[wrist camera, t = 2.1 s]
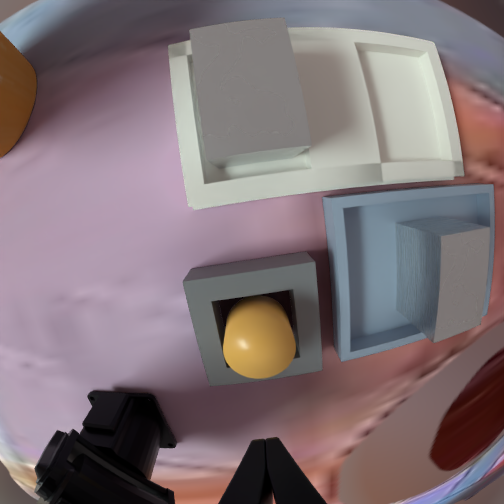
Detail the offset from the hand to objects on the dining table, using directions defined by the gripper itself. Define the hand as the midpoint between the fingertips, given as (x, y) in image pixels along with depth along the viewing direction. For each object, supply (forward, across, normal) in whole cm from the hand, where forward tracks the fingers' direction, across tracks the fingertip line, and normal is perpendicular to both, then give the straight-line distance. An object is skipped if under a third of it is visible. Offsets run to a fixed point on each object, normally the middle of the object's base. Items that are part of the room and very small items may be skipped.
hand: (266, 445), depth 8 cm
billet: (+10, -12, -2) cm, 16 cm away
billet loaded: (+10, -1, -12) cm, 15 cm away
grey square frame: (+11, 0, 0) cm, 11 cm away
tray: (+11, -12, -2) cm, 16 cm away
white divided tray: (+11, -6, -12) cm, 17 cm away
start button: (+9, 0, 0) cm, 9 cm away
